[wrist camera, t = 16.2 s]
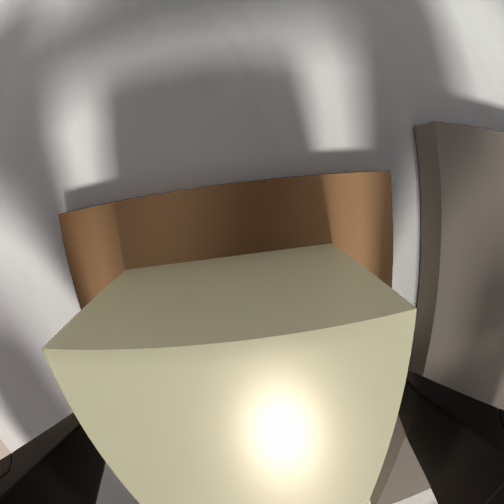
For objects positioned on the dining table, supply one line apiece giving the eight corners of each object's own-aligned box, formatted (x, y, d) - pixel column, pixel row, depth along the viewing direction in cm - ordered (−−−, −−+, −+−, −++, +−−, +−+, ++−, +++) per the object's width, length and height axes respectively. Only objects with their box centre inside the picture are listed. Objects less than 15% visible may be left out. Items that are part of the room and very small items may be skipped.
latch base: (556, 149, 8) (572, 150, 7) (490, 441, 13) (497, 450, 12) (414, 125, 8) (434, 121, 7) (368, 497, 13) (373, 509, 12)
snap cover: (332, 243, 8) (416, 309, 4) (331, 433, 10) (359, 521, 6) (125, 269, 8) (41, 348, 4) (186, 449, 10) (174, 538, 6)
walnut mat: (380, 171, 8) (390, 171, 8) (363, 441, 11) (367, 450, 11) (68, 212, 8) (58, 214, 8) (157, 463, 11) (155, 471, 11)
